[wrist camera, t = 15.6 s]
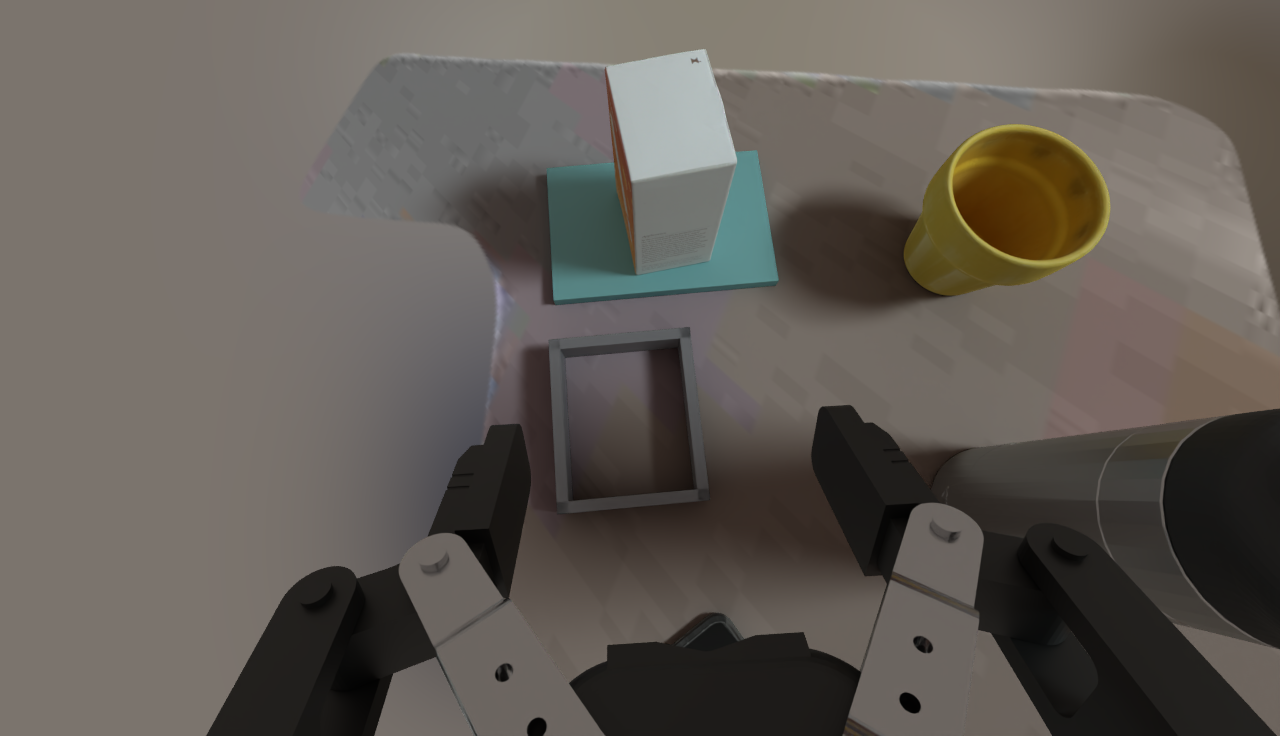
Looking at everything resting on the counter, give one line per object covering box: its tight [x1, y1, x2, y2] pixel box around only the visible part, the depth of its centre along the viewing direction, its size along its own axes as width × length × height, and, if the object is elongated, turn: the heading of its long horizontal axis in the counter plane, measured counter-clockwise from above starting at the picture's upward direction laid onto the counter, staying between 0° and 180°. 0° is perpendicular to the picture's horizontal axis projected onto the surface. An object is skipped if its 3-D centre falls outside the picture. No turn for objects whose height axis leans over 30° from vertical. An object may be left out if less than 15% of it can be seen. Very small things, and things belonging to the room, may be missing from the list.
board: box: [547, 150, 779, 305], centre depth 42 cm, size 18×12×1 cm, turn 95°
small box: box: [605, 49, 737, 275], centre depth 35 cm, size 8×6×13 cm
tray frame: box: [549, 327, 710, 514], centre depth 38 cm, size 11×13×2 cm
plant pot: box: [904, 124, 1110, 296], centre depth 37 cm, size 10×10×10 cm
